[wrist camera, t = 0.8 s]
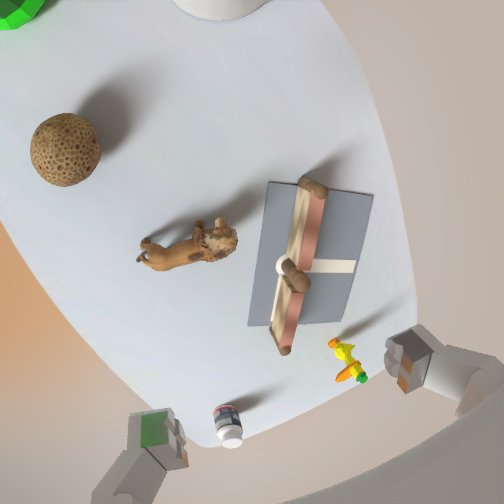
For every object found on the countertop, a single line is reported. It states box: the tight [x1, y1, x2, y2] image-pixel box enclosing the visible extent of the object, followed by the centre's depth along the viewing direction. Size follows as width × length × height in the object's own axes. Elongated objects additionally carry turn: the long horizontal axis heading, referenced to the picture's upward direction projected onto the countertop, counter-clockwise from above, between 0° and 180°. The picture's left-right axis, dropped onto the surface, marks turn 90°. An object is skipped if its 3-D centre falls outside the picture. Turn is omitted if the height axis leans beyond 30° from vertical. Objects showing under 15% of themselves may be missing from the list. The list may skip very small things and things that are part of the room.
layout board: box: [248, 182, 373, 326], centre depth 50 cm, size 24×18×1 cm
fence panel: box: [286, 177, 329, 271], centre depth 43 cm, size 12×2×6 cm, turn 173°
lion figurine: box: [136, 217, 238, 271], centre depth 40 cm, size 15×5×9 cm, turn 112°
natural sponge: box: [30, 113, 101, 187], centre depth 31 cm, size 9×9×10 cm
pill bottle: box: [213, 405, 243, 448], centre depth 56 cm, size 5×5×9 cm
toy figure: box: [328, 338, 368, 383], centre depth 53 cm, size 7×4×12 cm, turn 128°
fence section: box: [270, 258, 311, 356], centre depth 48 cm, size 15×2×7 cm, turn 173°
